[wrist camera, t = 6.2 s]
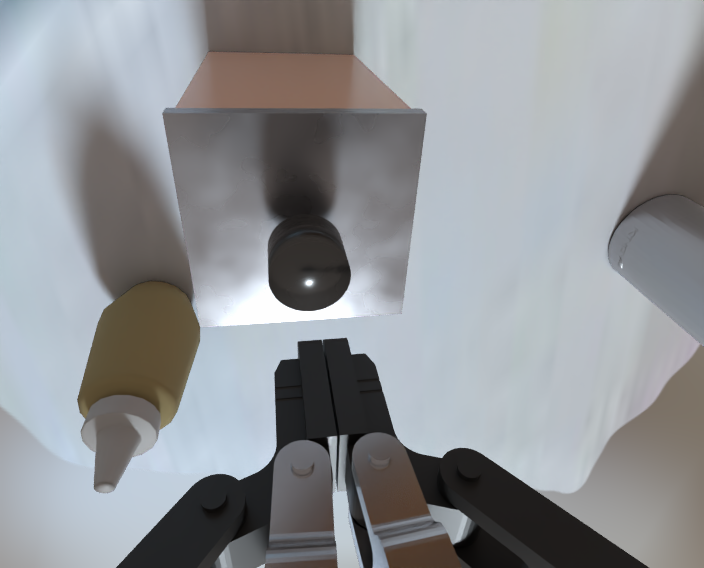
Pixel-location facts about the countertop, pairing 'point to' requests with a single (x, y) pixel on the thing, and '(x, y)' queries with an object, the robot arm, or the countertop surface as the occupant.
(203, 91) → the open tunnel frame
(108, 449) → the squeeze bottle
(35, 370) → the countertop surface
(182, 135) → the drawer with knob
